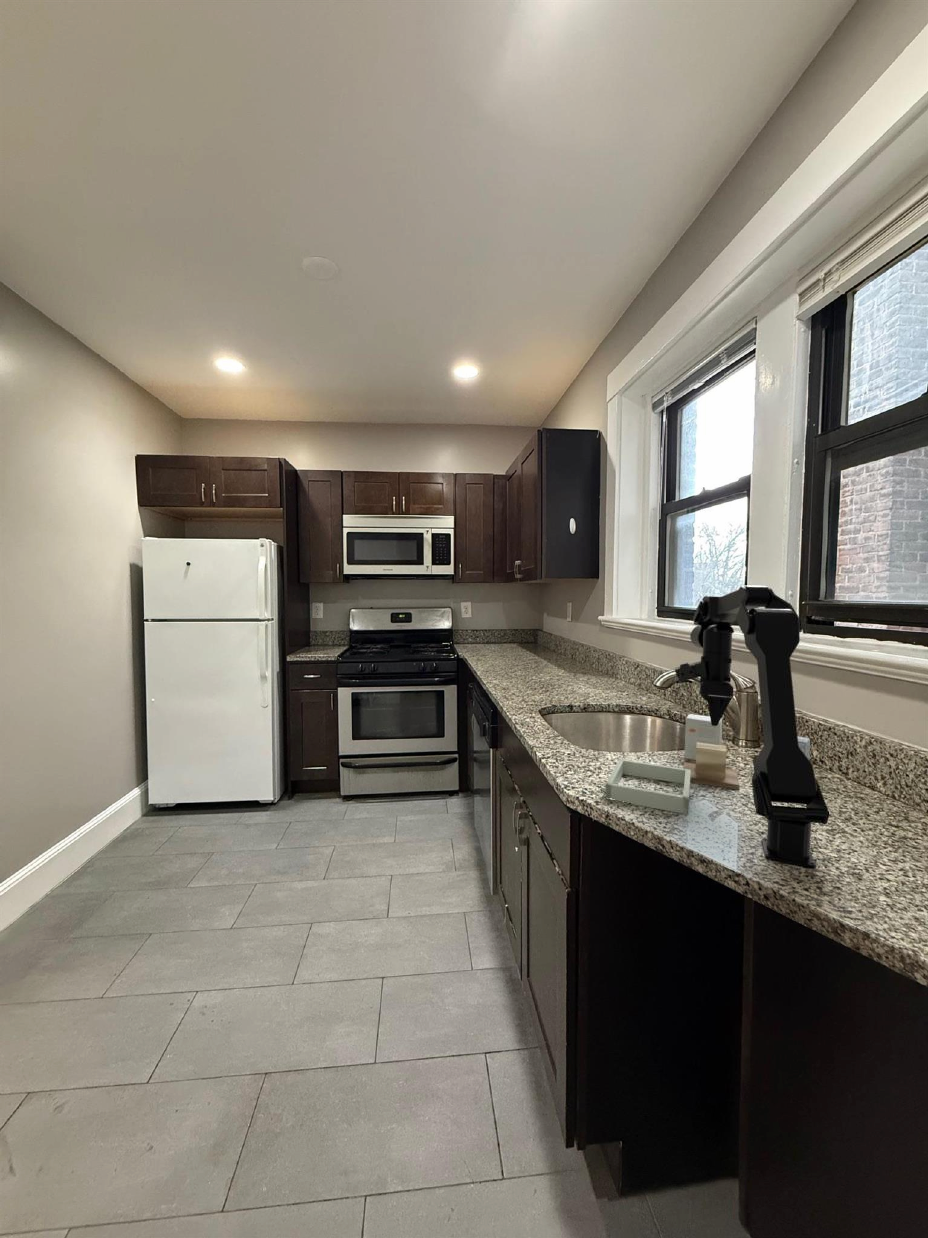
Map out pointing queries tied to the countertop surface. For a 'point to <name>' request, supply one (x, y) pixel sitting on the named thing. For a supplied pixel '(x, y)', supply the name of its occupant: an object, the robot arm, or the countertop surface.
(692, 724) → the small box
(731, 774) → the walnut board
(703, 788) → the countertop surface
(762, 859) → the countertop surface
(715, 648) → the robot arm
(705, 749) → the pine block
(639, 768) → the sage bin
